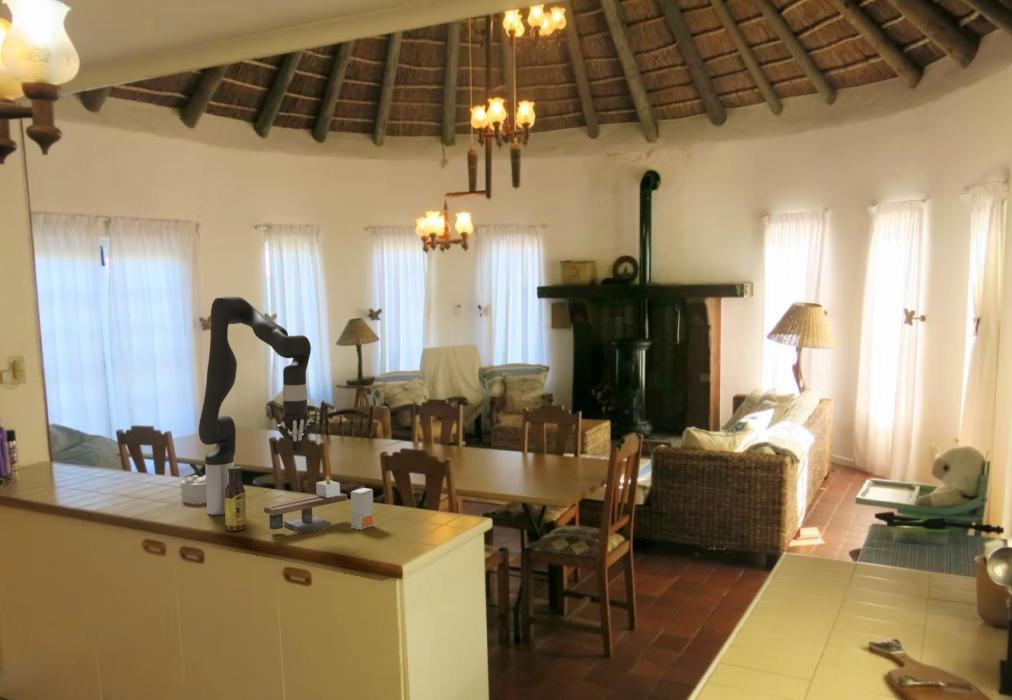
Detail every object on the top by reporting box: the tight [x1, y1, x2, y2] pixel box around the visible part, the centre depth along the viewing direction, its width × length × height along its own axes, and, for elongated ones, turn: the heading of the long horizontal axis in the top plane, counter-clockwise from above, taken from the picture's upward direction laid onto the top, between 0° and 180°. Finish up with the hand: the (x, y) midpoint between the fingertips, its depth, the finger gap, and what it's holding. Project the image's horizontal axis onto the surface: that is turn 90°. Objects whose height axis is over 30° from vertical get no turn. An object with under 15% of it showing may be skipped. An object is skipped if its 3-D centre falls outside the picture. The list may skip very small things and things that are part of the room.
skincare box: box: [350, 487, 374, 531], centre depth 242 cm, size 6×4×12 cm
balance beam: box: [263, 492, 348, 535], centre depth 244 cm, size 12×26×9 cm, turn 133°
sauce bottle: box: [224, 466, 247, 532], centre depth 242 cm, size 6×6×20 cm
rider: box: [315, 475, 341, 498], centre depth 248 cm, size 6×5×8 cm
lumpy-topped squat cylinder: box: [180, 474, 207, 505], centre depth 280 cm, size 10×13×9 cm
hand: (296, 452), depth 242 cm, fingers closed
